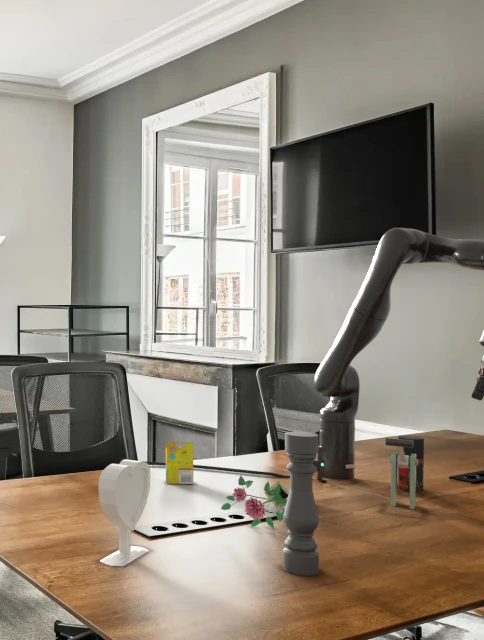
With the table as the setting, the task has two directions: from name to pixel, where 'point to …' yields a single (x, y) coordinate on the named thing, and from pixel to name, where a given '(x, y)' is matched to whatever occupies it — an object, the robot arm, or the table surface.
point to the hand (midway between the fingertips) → (477, 396)
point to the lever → (401, 450)
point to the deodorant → (405, 472)
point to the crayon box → (179, 463)
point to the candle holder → (301, 505)
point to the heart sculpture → (124, 504)
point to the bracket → (394, 465)
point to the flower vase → (255, 510)
